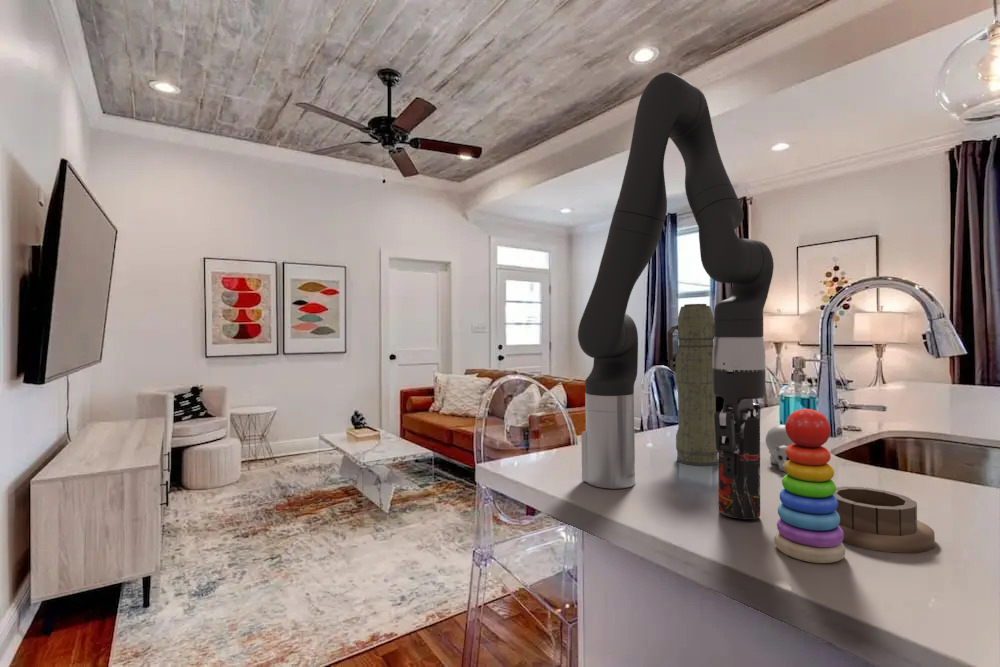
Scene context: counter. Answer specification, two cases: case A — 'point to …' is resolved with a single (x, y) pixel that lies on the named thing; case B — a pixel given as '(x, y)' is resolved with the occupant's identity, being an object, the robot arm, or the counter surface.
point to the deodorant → (742, 476)
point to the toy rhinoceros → (778, 445)
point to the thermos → (695, 385)
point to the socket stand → (881, 521)
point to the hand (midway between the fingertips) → (738, 473)
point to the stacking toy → (809, 493)
